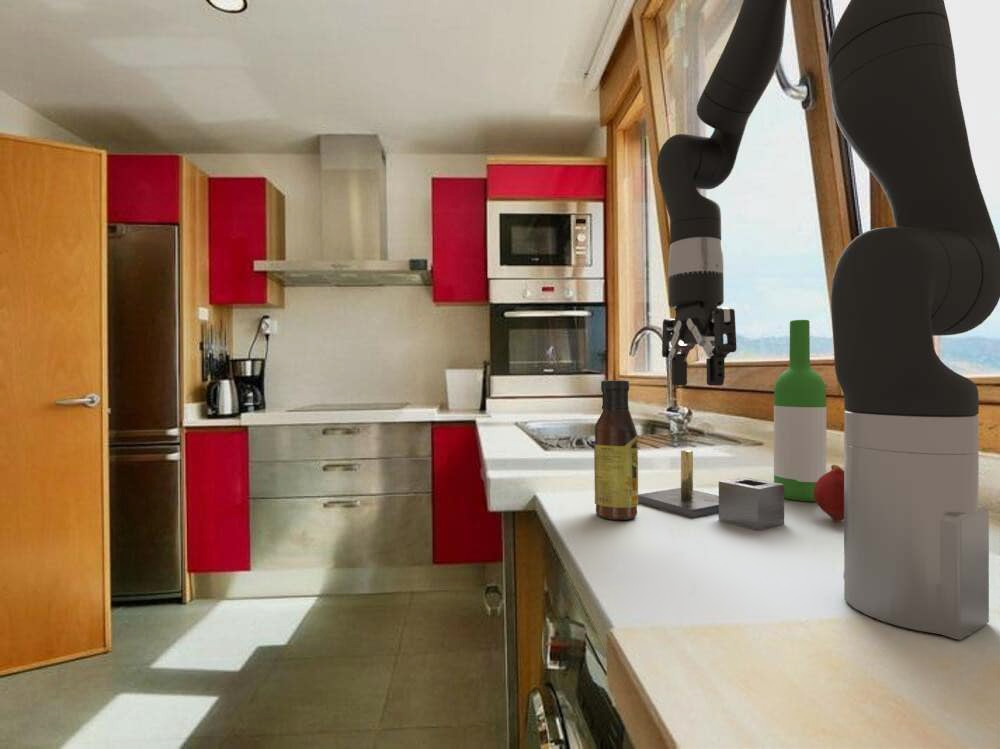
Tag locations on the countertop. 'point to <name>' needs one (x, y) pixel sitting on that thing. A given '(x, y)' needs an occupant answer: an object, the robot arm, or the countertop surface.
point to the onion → (831, 493)
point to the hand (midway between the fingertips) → (696, 385)
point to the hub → (683, 494)
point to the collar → (751, 503)
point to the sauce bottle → (616, 455)
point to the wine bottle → (799, 420)
